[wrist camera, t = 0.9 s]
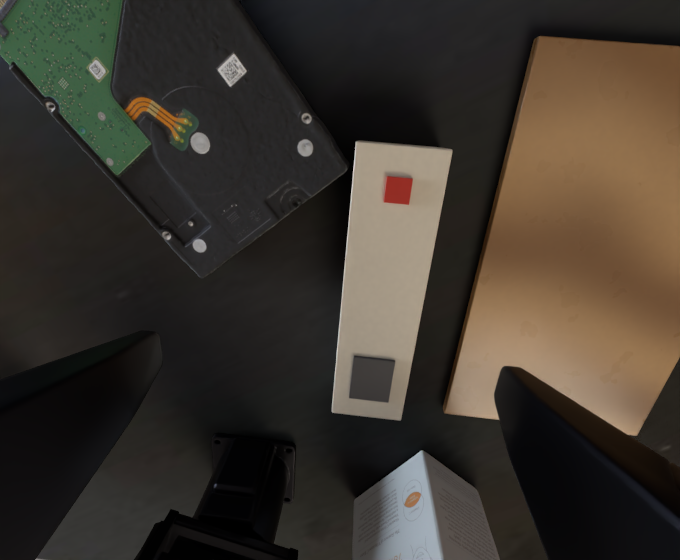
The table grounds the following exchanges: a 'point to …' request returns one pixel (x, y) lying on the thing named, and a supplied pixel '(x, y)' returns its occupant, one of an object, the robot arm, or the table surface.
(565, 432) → the robot arm
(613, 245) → the cork mat
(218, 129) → the disk drive
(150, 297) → the table surface
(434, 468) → the small box
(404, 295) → the remote
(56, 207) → the table surface
